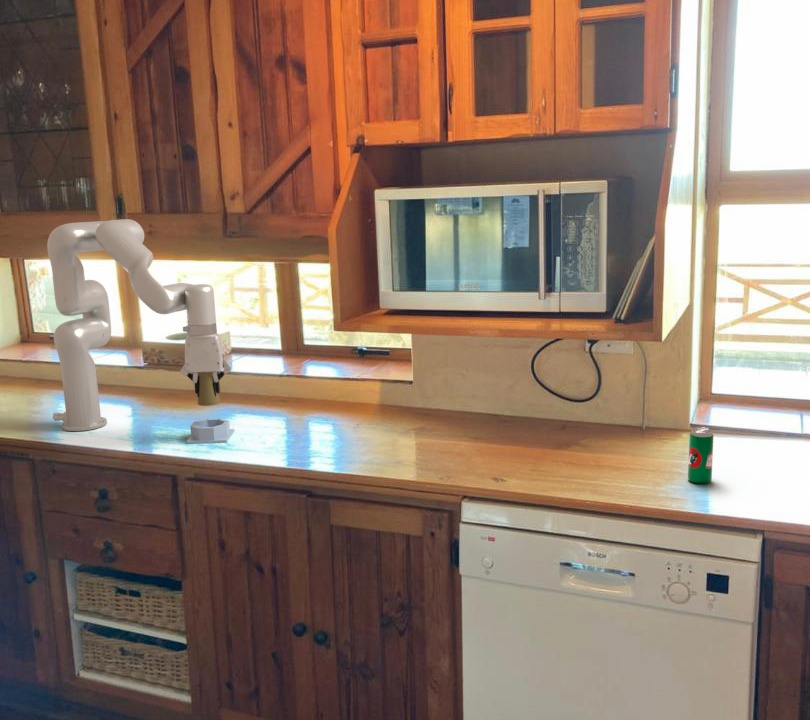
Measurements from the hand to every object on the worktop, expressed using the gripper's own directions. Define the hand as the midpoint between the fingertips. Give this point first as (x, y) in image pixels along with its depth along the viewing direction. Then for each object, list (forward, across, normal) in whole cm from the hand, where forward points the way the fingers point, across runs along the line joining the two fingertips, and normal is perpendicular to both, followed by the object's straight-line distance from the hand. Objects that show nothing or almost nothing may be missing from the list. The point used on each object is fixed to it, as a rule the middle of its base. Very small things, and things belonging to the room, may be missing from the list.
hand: (207, 395), depth 236 cm
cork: (+2, 0, 0) cm, 2 cm away
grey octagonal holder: (+12, 0, 0) cm, 12 cm away
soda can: (+13, +120, -47) cm, 129 cm away
